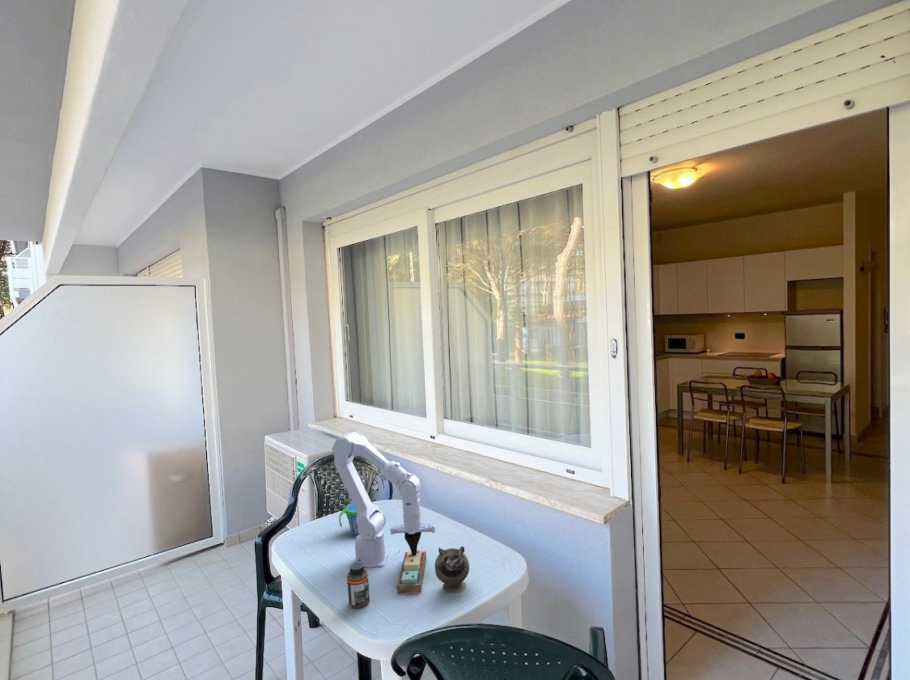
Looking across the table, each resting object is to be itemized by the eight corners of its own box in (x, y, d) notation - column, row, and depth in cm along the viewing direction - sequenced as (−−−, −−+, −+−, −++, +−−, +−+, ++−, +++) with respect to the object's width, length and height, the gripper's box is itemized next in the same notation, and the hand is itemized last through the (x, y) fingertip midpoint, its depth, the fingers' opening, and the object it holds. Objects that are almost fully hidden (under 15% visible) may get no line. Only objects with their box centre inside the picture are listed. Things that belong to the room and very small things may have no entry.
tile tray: (397, 593, 140) (397, 585, 140) (405, 559, 159) (405, 552, 159) (421, 592, 140) (420, 584, 140) (426, 558, 159) (426, 551, 159)
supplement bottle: (350, 597, 139) (347, 560, 138) (370, 595, 140) (368, 558, 139) (347, 610, 133) (344, 571, 132) (368, 608, 134) (366, 569, 133)
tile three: (407, 567, 153) (406, 557, 153) (408, 560, 158) (408, 550, 158) (421, 566, 153) (420, 556, 153) (422, 559, 158) (421, 549, 158)
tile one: (404, 574, 147) (403, 564, 147) (406, 566, 152) (405, 556, 152) (419, 574, 147) (418, 563, 147) (420, 566, 152) (419, 556, 151)
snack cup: (339, 540, 175) (337, 514, 174) (341, 528, 185) (339, 502, 185) (381, 535, 177) (380, 509, 177) (381, 523, 188) (379, 498, 187)
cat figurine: (443, 601, 135) (476, 591, 139) (439, 561, 134) (473, 552, 138) (432, 583, 145) (463, 574, 148) (429, 545, 144) (460, 537, 147)
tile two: (402, 589, 141) (401, 579, 141) (404, 581, 146) (403, 570, 145) (417, 589, 141) (416, 578, 141) (418, 580, 146) (418, 570, 145)
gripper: (387, 519, 151) (390, 561, 152) (433, 517, 150) (435, 559, 151) (391, 510, 158) (393, 549, 159) (434, 508, 158) (436, 548, 158)
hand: (414, 553), depth 155 cm, fingers closed, pressing on tile three
